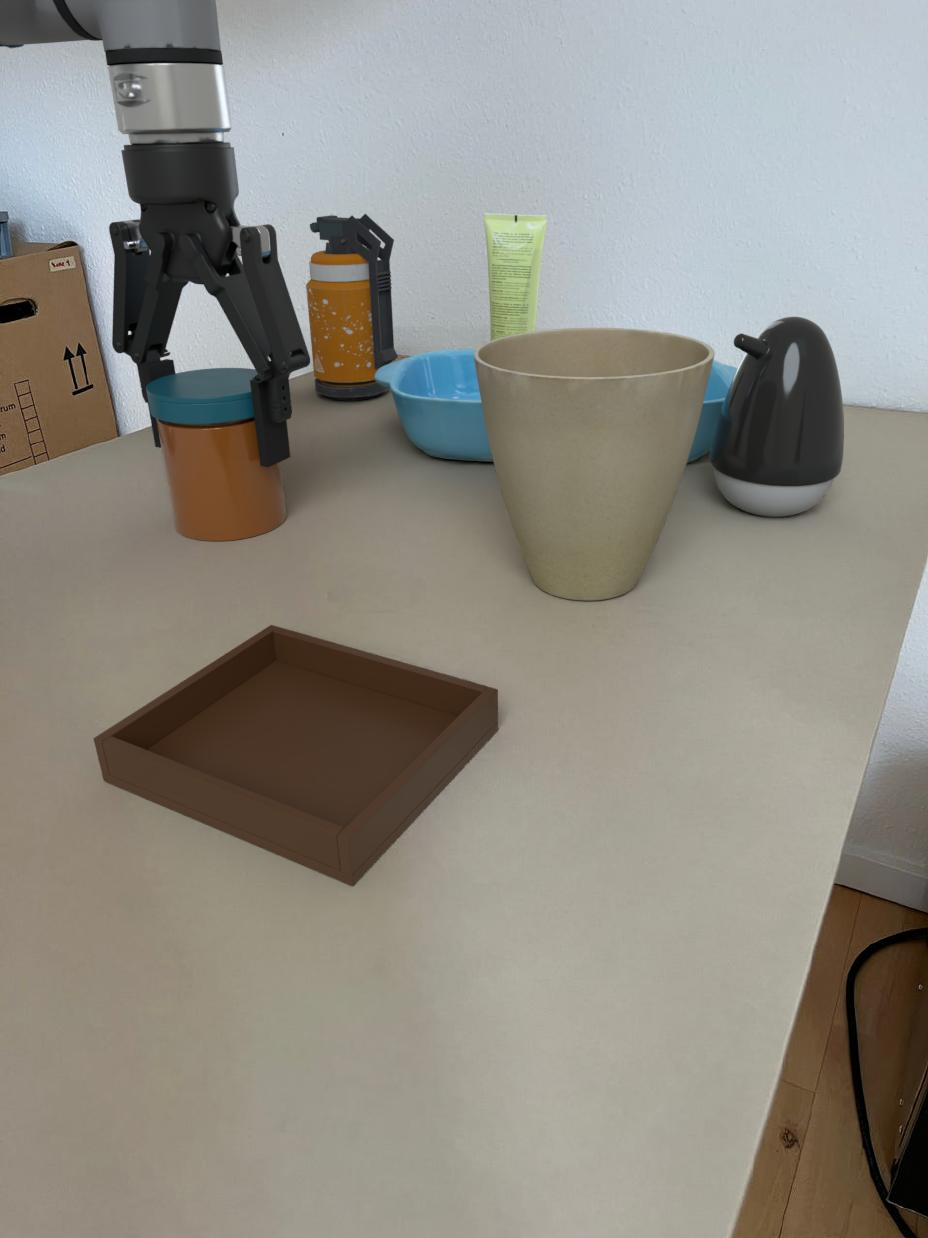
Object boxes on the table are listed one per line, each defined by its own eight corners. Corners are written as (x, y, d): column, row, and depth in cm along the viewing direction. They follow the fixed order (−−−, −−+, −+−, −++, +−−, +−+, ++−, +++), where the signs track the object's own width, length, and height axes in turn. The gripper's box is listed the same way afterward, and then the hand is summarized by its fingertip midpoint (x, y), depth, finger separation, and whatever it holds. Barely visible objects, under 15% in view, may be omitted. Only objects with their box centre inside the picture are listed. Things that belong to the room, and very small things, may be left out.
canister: (350, 380, 119) (338, 208, 109) (419, 392, 113) (412, 212, 104) (300, 396, 112) (282, 215, 103) (370, 409, 107) (358, 219, 97)
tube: (526, 380, 117) (529, 210, 108) (543, 389, 113) (547, 213, 104) (484, 384, 116) (483, 212, 107) (500, 394, 112) (500, 216, 102)
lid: (304, 399, 74) (302, 375, 74) (217, 431, 67) (214, 404, 66) (213, 385, 79) (210, 362, 78) (122, 414, 72) (118, 389, 71)
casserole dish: (726, 411, 104) (733, 345, 100) (768, 478, 84) (779, 399, 81) (395, 409, 106) (392, 345, 103) (360, 474, 87) (355, 397, 83)
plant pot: (647, 530, 74) (663, 320, 66) (725, 616, 61) (756, 368, 53) (460, 546, 72) (455, 331, 64) (500, 638, 59) (500, 384, 51)
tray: (103, 781, 47) (92, 738, 45) (275, 662, 57) (270, 624, 55) (352, 887, 40) (348, 839, 39) (498, 730, 50) (498, 689, 49)
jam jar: (151, 528, 76) (126, 398, 71) (227, 494, 83) (210, 373, 78) (235, 549, 72) (216, 413, 67) (308, 511, 79) (295, 384, 74)
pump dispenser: (678, 496, 80) (696, 312, 73) (776, 478, 84) (802, 301, 77) (756, 538, 72) (784, 335, 65) (860, 516, 76) (898, 321, 69)
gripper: (19, 141, 66) (84, 445, 77) (272, 138, 56) (307, 488, 67) (102, 139, 72) (152, 422, 83) (344, 135, 62) (366, 458, 73)
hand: (221, 452), depth 75 cm, fingers open, 10 cm apart
